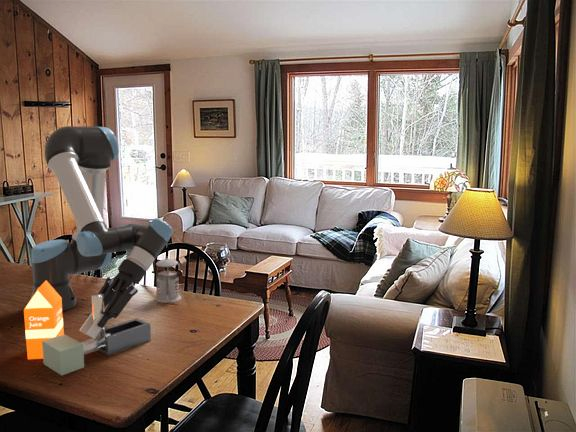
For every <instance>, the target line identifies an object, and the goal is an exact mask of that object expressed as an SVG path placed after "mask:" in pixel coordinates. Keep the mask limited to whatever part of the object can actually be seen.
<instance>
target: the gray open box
mask: <svg viewBox="0 0 576 432" xmlns="http://www.w3.org/2000/svg"><path fill="white" fill-rule="evenodd" d="M105 332H106V334H107V333H109V334H111V335H109V336H106V337H105V348H102V349H100V350H98V351H99V352H101V353H102V354H104V355H106V356H108V357H110V356H111V355H114V354H115V355H116V354H117V353H119V352H120V353H121V352H122V351H125V350H128V349H130V348H133V347H136V346H139V345H142V344H144V343H146V342H149V341H152V337H151V336H152V335H151V333H152V331H151V323H149V322H147V321H145V320H142V319H139V318H138V317H136V318H132V319H129V320H126V321H124V322H120V323H116V324H114V325H111V326H107V327H105Z"/></svg>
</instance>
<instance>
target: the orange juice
mask: <svg viewBox="0 0 576 432" xmlns="http://www.w3.org/2000/svg"><path fill="white" fill-rule="evenodd" d="M61 299H62V298H61V297H60V296H59V294H58V293H57V292H56V291H55V290H54V289H53V287H52V286H51V285H50V284H49V283H48V282H47V280H46V281H45V282H44V283H43V284H42V285H41V286H40V287H39V288H38V289H37V291H36V293H35V294H34V296H33V297H32V298H31V297H30V300H29V302H27V305H26V306H25V307H24V309H23V316H24V317H23V318H24V329H25V331H24V332H25V334H24V335H25V342H26V352H27V353H26V355H27V356H26V357H27V360H40V359H42V360H43V349H42V341H44V340H47V339H50V338H54V337H57V336H60V335H63V334H65V332H64V330H65V329H64V317H63V316H64V315H63V311H62V300H61Z"/></svg>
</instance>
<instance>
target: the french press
mask: <svg viewBox="0 0 576 432" xmlns="http://www.w3.org/2000/svg"><path fill="white" fill-rule="evenodd" d="M165 246H168V243H167V244H166V245H165ZM178 264H179V262H178V261H177V260H175V259H173V258H169V257H166V258H162V259H161V260H160V259H159V260H158V261H157V262H156V263H155V265H156V266H157V267H160V268H166V270H165V269H164V270H163V271H159V272H158V273H157V277H156V282H157V284H156V286H157V287H156V288H157V290H156V291H157V296H156V297H155V298H154V300H155V301H156V302H157V303H164V304H165V303H167V304H168V303H175V302H178V301H180V300H182V296H181V295H180V293H179V292H180V291H179V289H180V288H179V276H178V272H177V271H172V270H169V268H171V267H175V266H178Z"/></svg>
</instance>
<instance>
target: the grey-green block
mask: <svg viewBox="0 0 576 432" xmlns="http://www.w3.org/2000/svg"><path fill="white" fill-rule="evenodd" d="M42 349H43V359H42V360H43V362H42V363H43V365H45V366H46V367H48V368H49V369H51V370H52V371H53V372H55V373H57V374H58V375H60V376H64V375H68V374H70V373H72V372H75V371H78V370H81V369H83V368H85V355H84V353H83V344H82V343H80V341H78V340H76V339H74V338H73V337H71V336H69V335H67V334H65V333H64V334H63V335H60V336H57V337H54V338H50V339H47V340H44V341H42Z"/></svg>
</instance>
